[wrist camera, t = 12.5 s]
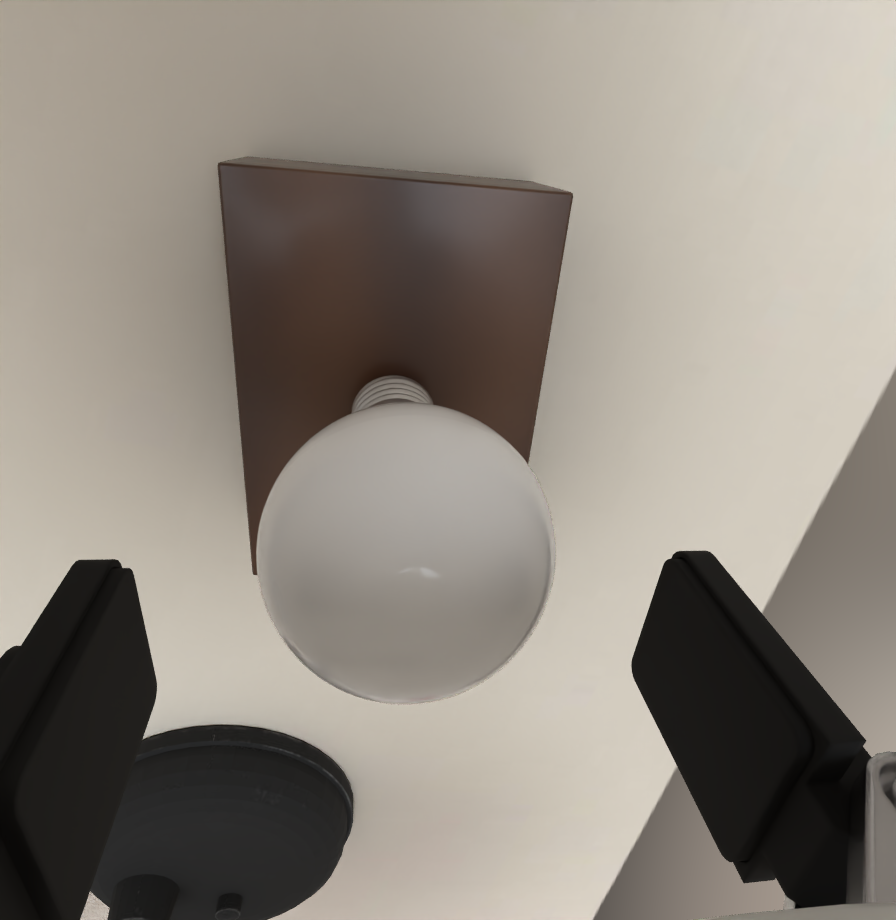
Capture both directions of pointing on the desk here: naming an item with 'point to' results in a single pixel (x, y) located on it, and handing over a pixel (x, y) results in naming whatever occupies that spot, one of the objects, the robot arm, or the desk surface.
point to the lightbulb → (405, 549)
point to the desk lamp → (223, 827)
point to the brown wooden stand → (383, 297)
